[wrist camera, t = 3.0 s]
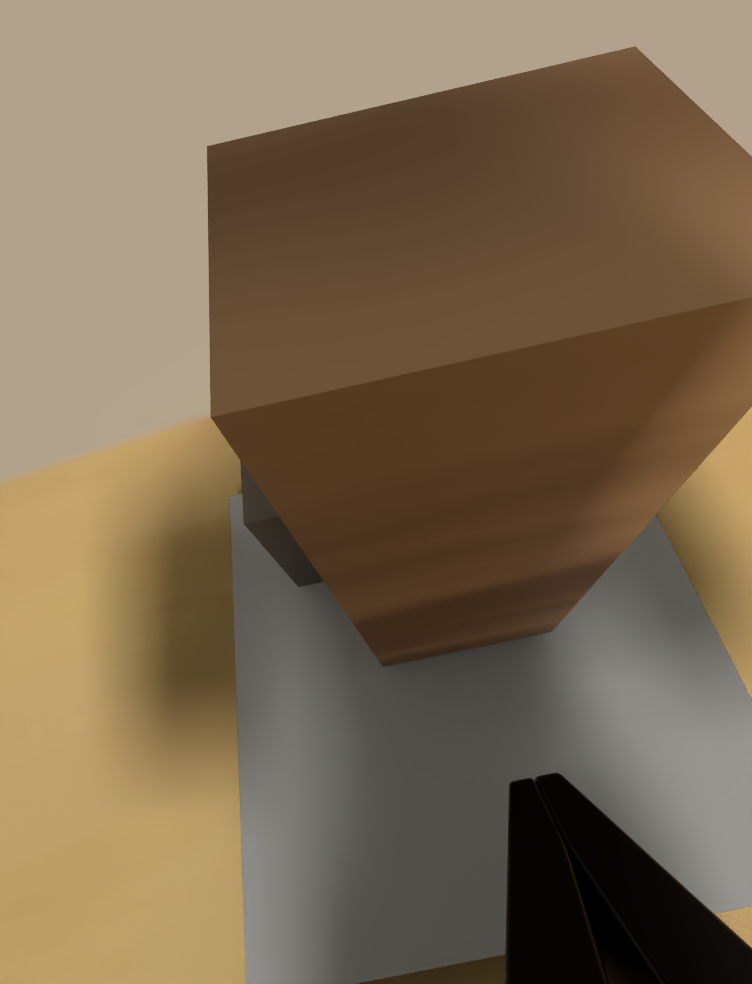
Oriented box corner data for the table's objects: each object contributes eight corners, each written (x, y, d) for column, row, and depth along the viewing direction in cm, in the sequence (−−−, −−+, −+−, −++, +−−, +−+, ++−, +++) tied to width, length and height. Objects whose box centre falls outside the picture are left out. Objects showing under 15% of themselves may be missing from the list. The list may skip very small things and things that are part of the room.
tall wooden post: (552, 631, 14) (872, 269, 4) (382, 667, 14) (210, 417, 4) (509, 510, 16) (635, 46, 6) (360, 542, 16) (206, 145, 6)
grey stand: (819, 877, 12) (1116, 974, 7) (260, 987, 12) (122, 1164, 7) (596, 430, 19) (657, 302, 13) (239, 508, 19) (160, 413, 14)
